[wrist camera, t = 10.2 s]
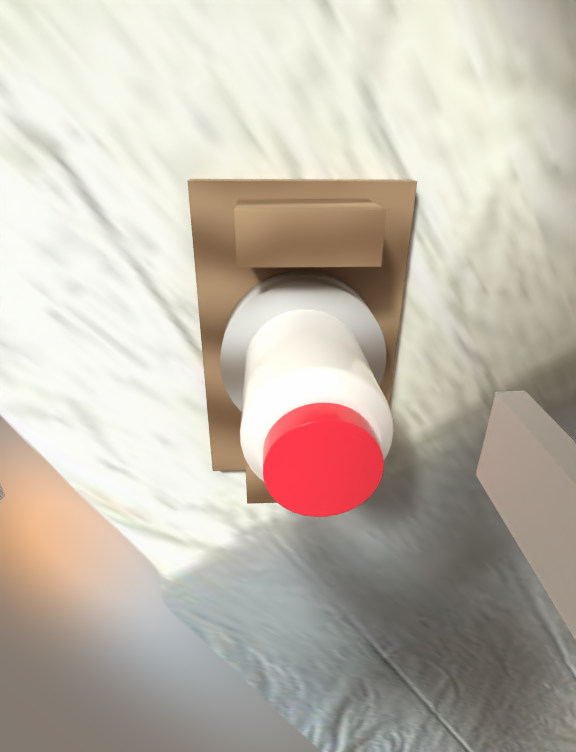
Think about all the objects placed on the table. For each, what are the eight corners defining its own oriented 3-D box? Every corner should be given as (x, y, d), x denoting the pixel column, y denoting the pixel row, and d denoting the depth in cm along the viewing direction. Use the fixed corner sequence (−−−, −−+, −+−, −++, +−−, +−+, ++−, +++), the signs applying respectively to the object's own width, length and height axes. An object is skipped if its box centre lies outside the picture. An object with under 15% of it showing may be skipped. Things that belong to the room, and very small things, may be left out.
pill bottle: (332, 287, 28) (370, 366, 18) (379, 385, 31) (432, 496, 22) (222, 342, 29) (203, 444, 20) (278, 430, 33) (286, 555, 23)
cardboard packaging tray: (190, 179, 29) (173, 189, 23) (411, 179, 29) (445, 189, 24) (214, 461, 39) (206, 515, 33) (378, 457, 40) (396, 509, 34)
